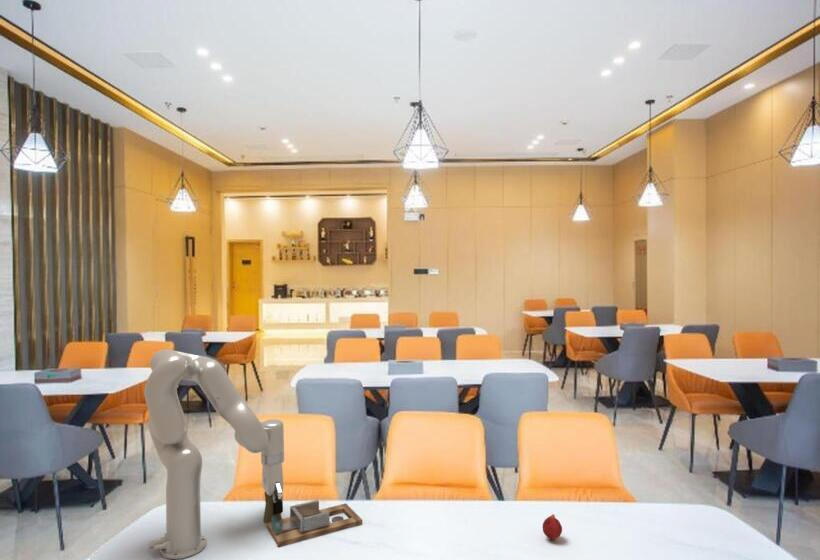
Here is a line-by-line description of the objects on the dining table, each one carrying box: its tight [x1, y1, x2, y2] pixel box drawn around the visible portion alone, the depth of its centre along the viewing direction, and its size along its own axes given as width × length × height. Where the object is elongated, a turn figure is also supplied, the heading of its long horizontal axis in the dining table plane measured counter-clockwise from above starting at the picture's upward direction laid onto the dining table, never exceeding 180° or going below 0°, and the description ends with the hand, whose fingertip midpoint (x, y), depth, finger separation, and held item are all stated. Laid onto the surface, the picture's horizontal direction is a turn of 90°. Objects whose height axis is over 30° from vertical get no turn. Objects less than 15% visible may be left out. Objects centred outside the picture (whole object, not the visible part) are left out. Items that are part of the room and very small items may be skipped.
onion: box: [542, 513, 563, 541], centre depth 158 cm, size 6×6×8 cm
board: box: [266, 503, 363, 548], centre depth 167 cm, size 28×14×2 cm, turn 120°
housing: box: [272, 499, 330, 534], centre depth 164 cm, size 17×11×4 cm, turn 120°
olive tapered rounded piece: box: [262, 491, 283, 525], centre depth 171 cm, size 6×6×11 cm
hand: (273, 507), depth 171 cm, fingers open, 9 cm apart
